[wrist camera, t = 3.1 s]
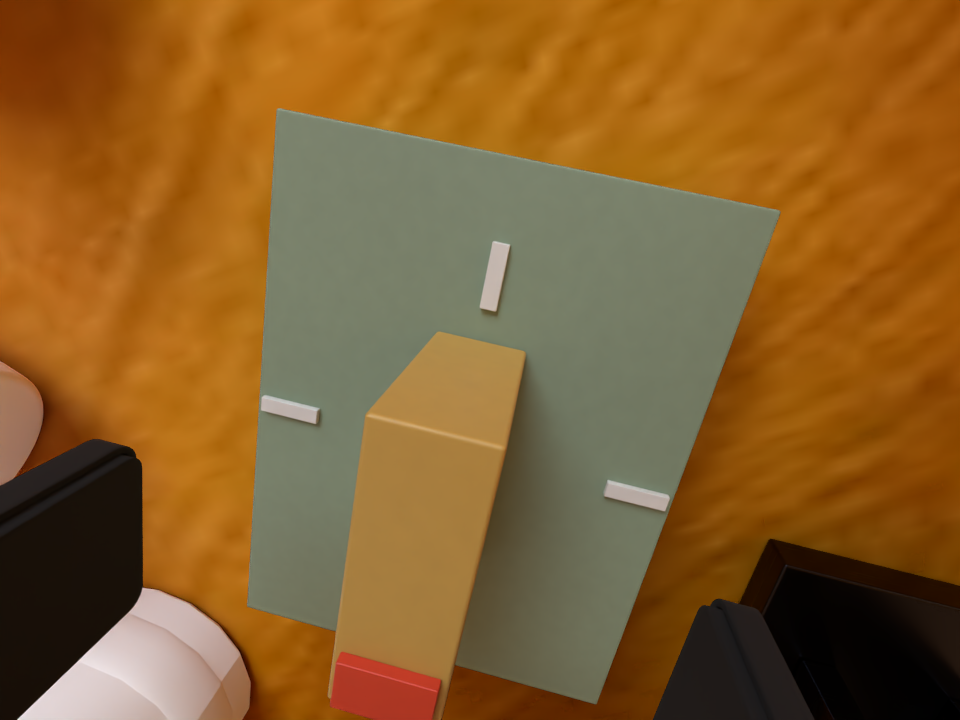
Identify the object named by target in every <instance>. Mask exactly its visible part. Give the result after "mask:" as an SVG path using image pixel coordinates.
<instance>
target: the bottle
mask: <svg viewBox="0 0 960 720" xmlns="http://www.w3.org/2000/svg"><path fill="white" fill-rule="evenodd" d="M250 687H251V682H250V679H249V676H248V673H247V671H246V668H245V665H244V663H243V660H242V657H241V654H240V652H239V650H238V649H237V647H236V646H235V645H234V643H233V642H232V641H231V640H230V638H229V637H228V636H227V634H226V633H225V632H224V631H223V629H222V628H221V627H220V625H219V624H217V623H216V622H215V621H213V620H212V619H211V618H209V617H208V616H207V615H205V614H204V613H203V612H202V611H200V610H199V609H198V608H196V607H195V606H194V605H192V604H191V603H189V602H186V601H184V600H181V599H179V598H177V597H174V596H172V595H170V594H167V593H165V592H163V591H160V590H155V589H147V588H142V592H141V595H140V597H139V599H138V601H137V603H136V604H135V606H134V607H133V608H132V609H131V610H130V611H129V612H128V613H127V614H126V615H125V616H124V617H123V618H122V619H121V620H120V621H119V622H118V623H117V624H116V625H115V626H114V627H113V628H112V629H111V630H110V631H109V632H108V633H107V634H106V635H105V636H104V637H102V638H101V639H100V640H99V641H98V642H97V643H96V644H95V645H94V646H93V647H92V648H91V649H90V650H89V651H88V652H87V653H86V654H85V655H84V656H83V657H82V658H81V659H80V660H79V661H78V662H77V663H75V664H74V665H73V666H72V667H71V668H70V669H69V670H68V671H67V672H66V673H65V674H64V675H63V676H62V677H61V678H60V679H59V680H58V681H57V682H56V683H55V684H54V685H53V686H52V687H51V688H50V689H49V690H47V691H46V692H45V693H44V694H43V695H42V696H41V697H40V698H39V699H38V700H37V701H36V702H35V703H34V704H33V705H32V706H31V707H30V708H29V709H28V710H27V711H26V712H25V713H24V714H23V715H22V716H20V717H19V718H18V719H17V720H242V719H243V718H244V716H245V714H246V713H247V711H248V709H249V706H250Z"/></svg>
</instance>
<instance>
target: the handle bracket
mask: <svg viewBox="0 0 960 720" xmlns="http://www.w3.org/2000/svg"><path fill="white" fill-rule="evenodd" d="M739 604H741V605H745V606H749V607H753V608H755V609H757V610H759V612H760V613H761V615H762V616H763V618H764V620H765V622H766V624H767V626H768V628H769V630H770V632H771V634H772V636H773V638H774V640H775V642H776V644H777V646H778V648H779V650H780V652H781V654H782V656H783V658H784V660H785V662H786V664H787V666H788V668H789V670H790V672H791V674H792V676H793V678H794V680H795V682H796V684H797V686H798V688H799V690H800V692H801V694H802V696H803V698H804V700H805V702H806V704H807V706H808V708H809V710H810V712H811V713H812V715H813V717H814V719H815V720H960V586H958V585H954V584H950V583H946V582H942V581H938V580H934V579H930V578H926V577H922V576H918V575H914V574H910V573H906V572H902V571H898V570H894V569H890V568H886V567H882V566H878V565H874V564H870V563H866V562H862V561H858V560H854V559H850V558H846V557H842V556H838V555H834V554H830V553H826V552H822V551H818V550H814V549H810V548H806V547H802V546H798V545H794V544H790V543H786V542H782V541H778V540H774V539H769V540H768V543H767V545H766V547H765V549H764V551H763V553H762V556H761V558H760V560H759V562H758V564H757V567H756V569H755V571H754V573H753V575H752V577H751V580H750V582H749V584H748V586H747V588H746V590H745V593H744V595H743V597H742V599H741V601H740V603H739Z"/></svg>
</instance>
